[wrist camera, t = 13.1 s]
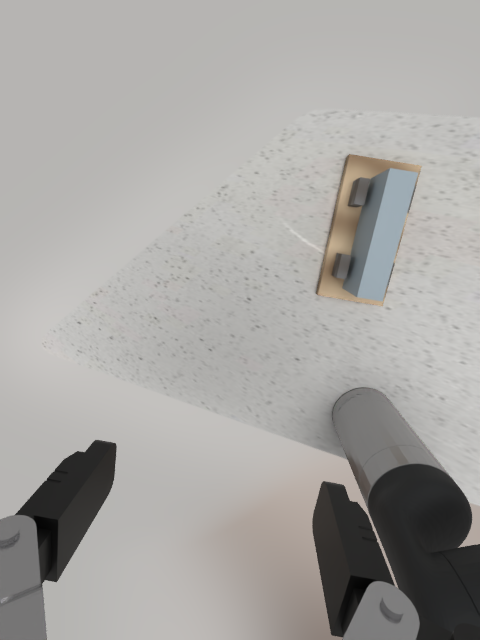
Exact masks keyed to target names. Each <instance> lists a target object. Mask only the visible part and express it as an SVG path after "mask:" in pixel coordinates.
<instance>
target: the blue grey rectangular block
mask: <svg viewBox="0 0 480 640" xmlns="http://www.w3.org/2000/svg"><path fill="white" fill-rule="evenodd" d="M417 176H418V173H417V172H411V171H405V170H399V169H393V168H389V169H387V170H386V171H384V172H382V173H380V174H378V175H376V176H374V177H373V178H371V179H370V183H369V187H368V191H367V195H366V199H365V203H364V206H362V209H361V213H360V217H359V221H358V225H357V230H356V234H355V238H354V242H353V246H352V250H351V254H350V255H351V260H350V265H349V269H348V273H347V277H346V279H344V283H343V287H342V288H343V289H344V290H346V291H348V292H349V293H351V294H353V295H354V296H356V297H359V298H365V299H371V300H377V301H382V302H383V298H384V295H385V291H386V288H387V284H388V280H389V277H390V273H391V270H392V266H393V262H394V259H395V255H396V252H397V248H398V244H399V241H400V237H401V234H402V230H403V226H404V223H405V219H406V216H407V212H408V208H409V205H410V201H411V198H412V194H413V190H414V187H415V183H416V180H417Z"/></svg>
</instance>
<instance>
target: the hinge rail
mask: <svg viewBox="0 0 480 640" xmlns="http://www.w3.org/2000/svg"><path fill="white" fill-rule="evenodd" d="M389 168H393V169H399V170H405V171H411V172H417V173H418V176H417V180H416V183H415V187H414V190H413V194H412V198H411V201H410V205H409V208H408V212H407V216H406V219H405V223H404V226H403V230H402V234H403V231H404V227H405V224H406V220H407V217H408V213H409V210H410V206H411V203H412V199H413V195H414V192H415V188H416V184H417V181H418V177H419V173H420V170H421V166H419V165H413V164H407V163H400V162H394V161H388V160H382V159H376V158H369V157H363V156H357V155H351V154H349V155H348V156H347V157H346V162H345V166H344V171H343V175H342V180H341V184H340V189H339V193H338V198H337V202H336V207H335V211H334V216H333V220H332V224H331V229H330V233H329V238H328V242H327V247H326V251H325V256H324V260H323V265H322V269H321V274H320V278H319V283H318V287H317V292H316V294H317V295H320V296H326V297H332V298H338V299H344V300H349V301H355V302H361V303H367V304H373V305H379V306H383V303H384V299H385V296H386V292H387V288H388V285H389V282H390V278H391V274H392V271H393V267H394V264H395V260H396V256H397V252H398V249H399V245H400V242H401V238H402V234H401V237H400V241H399V244H398V248H397V252H396V255H395V259H394V262H393V266H392V270H391V273H390V277H389V280H388V284H387V288H386V291H385V295H384V298H383V302H382V301H377V300H371V299H365V298H359V297H356V296H354V295H353V294H351V293H349V292H348V291H346V290H344V289H343V288H342V287H343V283H344V279H346V277H347V273H348V269H349V265H350V260H351V255H350V254H351V250H352V246H353V242H354V238H355V234H356V230H357V225H358V221H359V217H360V213H361V209H362V206H364V203H365V199H366V195H367V191H368V187H369V183H370V179H371V178H373V177H374V176H376V175H378V174H380V173H382V172H384V171H386V170H387V169H389Z"/></svg>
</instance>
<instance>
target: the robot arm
mask: <svg viewBox="0 0 480 640" xmlns="http://www.w3.org/2000/svg"><path fill="white" fill-rule="evenodd" d="M332 415H333V423H334V426H335V428H336V431H337V433H338V436H339V439H340V441H341V444H342V446H343V449H344V451H345V454H346V456H347V459H348V461H349V464H350V466H351V469H352V471H353V474H354V476H355V479H356V481H357V484H358V486H359V489H360V491H361V494H362V496H363V498H364V500H365V503H366V506H367V508H368V511H369V514H370V516H371V518H372V521H373V524H374V526H375V528H376V531H377V533H378V535H379V538H380V541H381V543H382V546H383V548H384V550H385V553H386V556H387V558H388V561H389V563H390V566H391V568H392V571H393V574H394V577H395V580H396V582H397V585H398V588H399V589H398V588H396V587H395V585H394V582H393V580H392V577H391V574H390V572H389V569H388V567H387V564H386V562H385V559H384V556H383V554H382V551H381V549H380V546H379V544H378V542H377V538H376V536H375V533H374V531H373V529H372V525H371V523H370V521H369V518H368V515H367V514H366V513H365V511H364V510H363V509H362V508H361V507H360V505H359V504H358V503H357V502H352V501H350V500H349V498H348V495H347V492H346V489H345V486H344V485H341V484H336V483H331V482H325V481H324V482H323V483H322V484H321V488H320V491H319V496H318V499H317V503H316V507H315V510H314V514H313V536H314V541H315V546H316V552H317V558H318V563H319V569H320V575H321V580H322V585H323V591H324V597H325V602H326V608H327V613H328V619H329V624H330V629H331V635H333V636H339V637H343V639H342V640H480V544H479V545H471V546H466V547H460V548H458V547H459V546H460V545H461V544H462V543H463V541H464V540H465V539H466V537H467V535H468V533H469V531H470V528H471V523H472V512H471V507H470V505H469V502H468V500H467V498H466V496H465V495H464V493H463V492H462V491H461V489H460V488H459V487H458V485H457V484H456V483H455V482H454V480H453V479H452V478H451V477H450V475H449V474H448V473H447V472H446V470H445V469H444V468H443V467H442V465H441V464H440V463H439V462H438V460H437V459H436V458H435V457H434V456H433V454H432V453H431V452H430V451H429V449H428V448H427V447H426V446H425V444H424V443H423V442H422V441H421V439H420V438H419V437H418V436H417V434H416V433H415V432H414V431H413V429H412V428H411V427H410V426H409V424H408V423H407V422H406V421H405V419H404V418H403V417H402V415H401V414H400V413H399V412H398V410H397V409H396V408H395V407H394V405H393V404H392V403H391V402H390V400H389V399H388V398H387V397H386V396H385V395H384V394H383V393H381V392H379V391H377V390H375V389H371V388H358V389H354V390H351V391H349V392H347V393H346V394H344V395H343V396H342V397H341V398H340V399H339V400H338V401H337V402H336V404H335V406H334V409H333V414H332ZM115 460H116V444H115V443H112V442H106V441H100V440H95V441H94V442H93V443H92V444H91V446H90V447H89V448H88V449H87V450H86V452H79V451H77V452H75V453H74V454H72V455H70V456H69V457H68V458H66V459H64V460H63V461H62V462H61V464H60V465H59V466H58V467H57V468H56V469H55V471H54V472H53V473H52V474H51V475H50V476H49V477H48V478H47V481H45V482H44V483H43V484H42V485H41V486H40V487H39V488H38V489H37V491H36V492H35V493H34V494H33V495H32V496H31V497H30V499H29V500H28V501H27V502H26V503H25V504H24V505H23V506H22V508H21V509H20V510H19V511H18V512H17V513H16V514H15V515H14V516H9V517H6V518H3V519H1V520H0V640H47V635H46V623H45V611H44V598H43V588H42V583H43V582H44V580H48V581H54V582H57V581H58V579H59V577H60V576H61V574H62V572H63V571H64V569H65V567H66V566H67V564H68V562H69V561H70V559H71V557H72V555H73V554H74V552H75V550H76V549H77V547H78V545H79V544H80V542H81V540H82V539H83V537H84V535H85V534H86V532H87V530H88V528H89V527H90V525H91V523H92V521H93V520H94V518H95V517H96V515H97V513H98V511H99V510H100V508H101V506H102V505H103V503H104V501H105V500H106V498H107V496H108V494H109V492H110V490H111V488H112V485H113V481H114V473H115Z"/></svg>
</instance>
